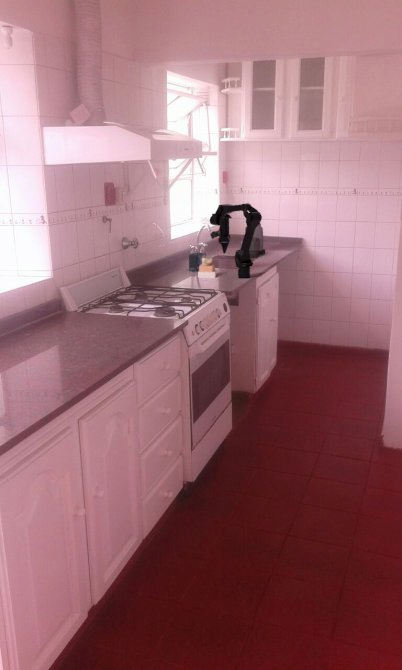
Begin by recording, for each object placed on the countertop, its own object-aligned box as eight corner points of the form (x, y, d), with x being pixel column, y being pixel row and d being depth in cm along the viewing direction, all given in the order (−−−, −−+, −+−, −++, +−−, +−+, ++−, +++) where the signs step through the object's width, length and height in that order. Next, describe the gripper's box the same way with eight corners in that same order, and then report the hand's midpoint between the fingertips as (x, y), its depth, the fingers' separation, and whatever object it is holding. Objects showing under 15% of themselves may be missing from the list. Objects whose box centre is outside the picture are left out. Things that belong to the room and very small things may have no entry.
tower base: (216, 275, 368) (216, 269, 367) (215, 278, 358) (214, 272, 358) (200, 275, 369) (199, 269, 368) (198, 278, 360) (198, 272, 359)
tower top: (215, 269, 366) (215, 264, 365) (212, 272, 358) (212, 266, 357) (202, 269, 367) (201, 264, 366) (199, 272, 360) (199, 266, 359)
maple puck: (212, 264, 364) (212, 257, 363) (212, 266, 359) (211, 259, 357) (202, 264, 365) (202, 257, 364) (201, 266, 359) (201, 259, 358)
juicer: (245, 251, 457) (245, 218, 450) (267, 252, 453) (267, 218, 446) (237, 258, 429) (237, 222, 422) (260, 258, 425) (260, 222, 418)
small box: (196, 271, 379) (196, 255, 376) (188, 271, 382) (188, 254, 380) (206, 269, 387) (206, 252, 384) (198, 268, 391) (198, 252, 388)
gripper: (212, 224, 371) (212, 250, 376) (209, 227, 353) (210, 254, 358) (230, 224, 370) (230, 250, 375) (228, 227, 352) (229, 254, 357)
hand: (224, 252), depth 366 cm, fingers open, 9 cm apart
